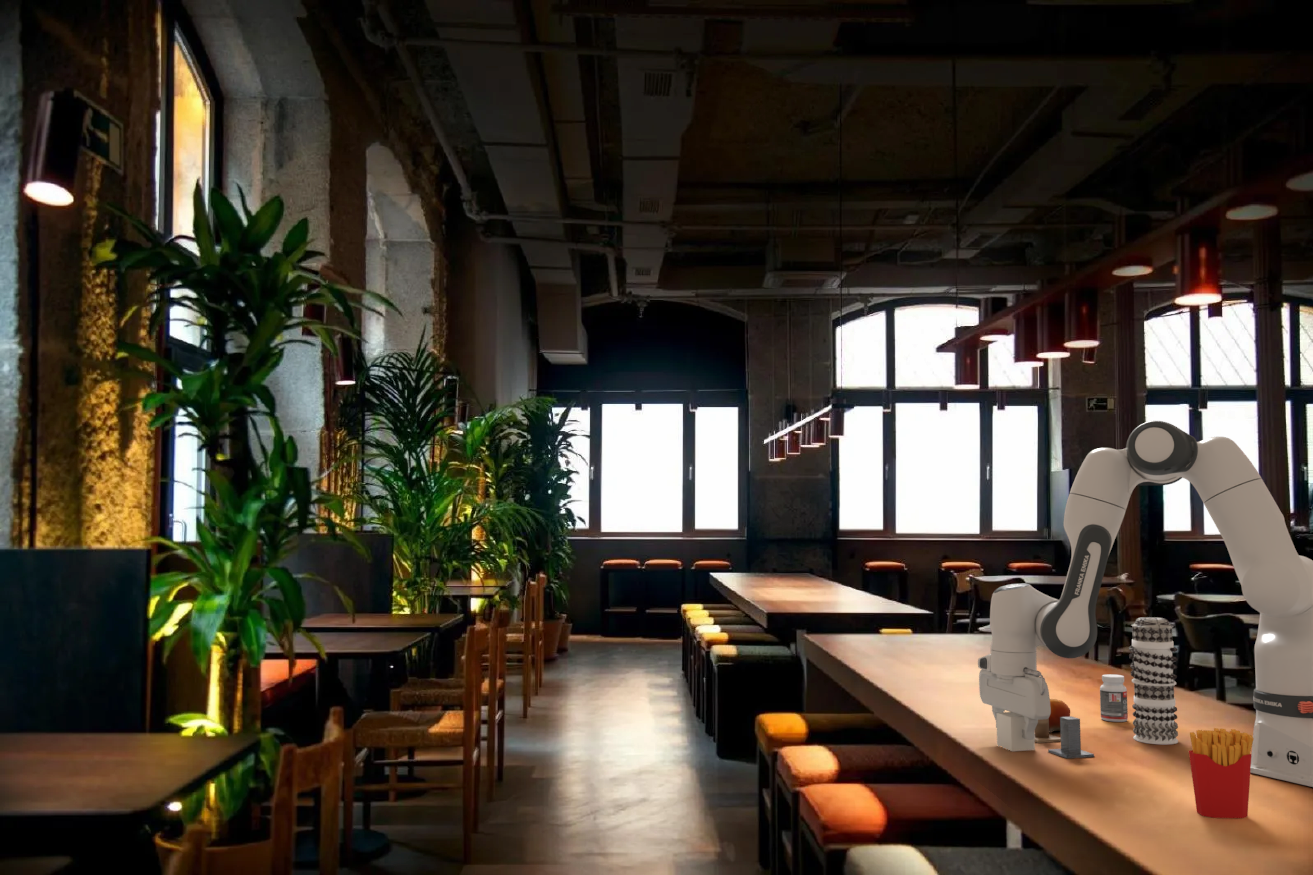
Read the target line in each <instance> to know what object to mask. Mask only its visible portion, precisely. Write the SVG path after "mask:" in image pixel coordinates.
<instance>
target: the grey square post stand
mask: <svg viewBox="0 0 1313 875" xmlns="http://www.w3.org/2000/svg"><path fill="white" fill-rule="evenodd" d="M1060 730H1061V731H1060V738H1061V741H1060V748H1052V749H1051V748H1050V749H1049V748H1048V749H1047V751H1048V752H1047V753H1050V754H1053V755H1055V756H1058V757H1061V758H1064V759H1066V760H1067V759H1079V758H1081V759H1082V758H1093V757H1095V754H1094V753H1092V752H1089V751H1087V750H1082V749H1081V748H1082V747H1081V746H1082V744H1081V742H1082V741H1081V739H1082V738H1081V718H1078V717H1076V716H1071V715H1070V717H1060Z"/></svg>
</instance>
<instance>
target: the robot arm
mask: <svg viewBox="0 0 1313 875" xmlns="http://www.w3.org/2000/svg"><path fill="white" fill-rule="evenodd" d="M1182 479H1185V480H1186V481H1188V482H1189V483H1191V485H1192V486H1193V487H1194V489H1195V491H1196V492H1197V493H1198V496H1199V497H1200V499H1201V501H1202V503H1203V504H1204V506H1205V509H1206V510H1207V512H1208V514H1209V515H1210V518H1211V520H1212V521H1213V523H1214V524H1215V527H1216V528H1217V530H1218V532H1219V534H1220V536H1221V538H1222V540H1223V542H1224V544H1225V547H1226V548H1227V551H1228V552H1227V553H1228V554H1229V557H1230V561H1231V562H1232V566H1233V569H1234V571H1235V574H1236V576H1237V578H1238V581H1239V583H1240V585H1241V592H1242V596H1243V598H1244V600H1245V601H1246V603H1247V604H1248V605H1249V606H1250V608H1252V609H1254V610H1255V611H1257V612H1258V613H1259V621H1258V628H1257V636H1256V640H1255V644H1254V668H1255V669H1254V670H1255V688H1254V689H1253V696H1252V700H1253V708H1254V709H1255V712H1256V713H1255V720H1254V724H1253V731H1252V737H1253V738H1254V739H1253V743H1252V747H1251V752H1250V754H1252V755H1251V770H1250V774H1255V775H1260V776H1264V777H1268V778H1272V779H1277V780H1281V781H1286V782H1290V783H1294V784H1298V785H1302V786H1307V787H1312V788H1313V560H1312V559H1311V558H1309V557H1307V556H1304V555H1299V553H1298V552H1297V550H1296V548H1295V545H1294V542H1293V540H1292V537H1291V535H1290V533H1289V529H1288V527H1287V525H1286V521H1285V517H1284V514H1283V513H1282V512H1281V510H1280V508H1279V506H1278V504H1277V502H1276V501H1275V499H1274V497H1273V496H1272V493H1271V492H1270V491H1269V488H1268V487H1267V485H1266V484H1265V482H1264V480H1263V478H1262V476H1261V475H1260V474H1259V472H1258V469H1256V467H1255V466H1254V464H1253V463H1252V461H1251V460H1250V458H1249V457H1248V456H1247V455H1246V454H1245V453H1244V451H1243V450H1242V449H1241V447H1239V445H1238V444H1237V443H1236V442H1235V441H1234V440H1232V439H1231V438H1229V437H1225V436H1211V437H1208V438H1205V439H1202V440H1199V441H1197V439H1196V438H1195V437H1194V436H1192V434H1191V435H1190V434H1189V433H1187V432H1186V431H1183V430H1182V429H1180V428H1179V427H1177V426H1176V425H1174V424H1172V423H1171V422H1170V423H1169V422H1166V421H1162V420H1150V421H1146V422H1144V423H1141V424H1139V425H1137V427H1135V428H1134V429H1133V430H1132V432H1131V433H1130V434H1129V436H1128V438H1127V441H1126V444H1125V448H1123V449H1115V448H1112V447H1099V448H1094V449H1092V450H1091V451H1089V452H1088V453H1087V455H1086V456H1085V458H1084V459H1083V462H1081V465H1080V466H1079V469H1078V471H1077V474H1076V475H1075V478H1074V481H1073V483H1072V486H1071V488H1070V491H1069V494H1068V497H1067V500H1066V504H1065V508H1064V516H1063V529H1064V531H1065V534H1066V535H1067V538H1068V541H1069V545H1070V550H1071V558H1070V563H1069V567H1068V571H1067V574H1066V577H1065V581H1064V585H1063V589H1062V592H1061V595H1060V598H1059V599H1058V598H1055V597H1052V596H1049V595H1048V594H1045V593H1043V592H1041V591H1039V590H1037V589H1036V588H1034V587H1033V586H1032V585H1031V584H1028V583H1026V582H1025V583H1011V584H1006V585H1002V586H999V587H998V588H996V589H995V590H994V591H993V593H992V594H991V599H990V609H989V628H990V632H991V644H990V653H988V654H986V655H984V656H981V657H979V658H978V659H977V666H978V669H980V670H979V674H978V685H979V687H978V690H979V691H978V692H979V698H980V700H981V701H982V703H983V704H986V705H989V706H991V711H992V714H993V716H994V720H995V728H996V729H997V715H996V713H1002V712H1012V713H1016V714H1019V715H1022V716H1024V721H1025V722H1026V725H1025V729H1022V737H1023V738H1024V739H1027V740H1033V739H1034V733H1035V728H1036V726H1037V724H1038V720H1042V719H1048V718H1049V716H1050V714H1051V707H1050V699H1051V698H1050V689H1049V686H1048V683H1047V682H1046V679H1045V677H1044V676H1043V675H1042V672H1041V671H1040V670H1037V665H1038V664H1037V661H1038V660H1037V647H1038V646H1045V647H1047V649H1048V650H1049V651H1050V652H1052V653H1053V654H1054V655H1055V656H1057V657H1059V658H1064V659H1077V658H1080V657H1082V656H1084V655H1086V654H1087V653H1089V652H1090V651H1091V649H1092V648H1093V647H1094V645H1095V644H1096V642H1097V639H1098V638H1097V637H1098V625H1097V617H1096V608H1097V601H1098V598H1099V594H1100V590H1101V586H1102V582H1103V578H1104V575H1105V571H1106V567H1107V563H1108V558H1109V556H1110V553H1111V550H1112V548H1113V545H1114V543H1115V539H1116V538H1117V536H1118V533H1119V530H1120V528H1121V525H1122V523H1123V521H1124V518H1125V515H1126V511H1127V508H1128V505H1129V501H1130V498H1131V495H1132V494H1133V491H1134V489H1135V488H1136V486H1168V485H1171V484H1175V483H1176V482H1178V481H1180V480H1182Z"/></svg>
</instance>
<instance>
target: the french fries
mask: <svg viewBox="0 0 1313 875" xmlns="http://www.w3.org/2000/svg"><path fill="white" fill-rule="evenodd" d="M1195 732H1196V734H1195ZM1195 732H1194V731H1192V732H1189V736H1190V743H1191V747H1192V748H1191V750H1188V755H1189V757H1188V758H1189V764H1190V770H1191V778H1192V785H1193V786H1192V787H1193V792H1194V794H1193V795H1194V801H1195V807H1196V813H1197V814H1199V815H1200V816H1202V817H1208V818H1211V819H1212V818H1213V819H1214V818H1215V819H1245V818H1247V817H1248V814H1249V802H1250V801H1249V799H1250V798H1249V797H1250V782H1251V773H1250V770H1251V755H1252V754H1251V752H1252V743H1253V739H1254V738H1253V734H1249V733H1248V732H1241V731H1240V730H1236V729H1235V728H1231V729H1230V730H1229V731H1227V729H1226V728H1217V727H1214V728H1213V730H1206V729H1205V730H1203V729H1197V730H1196V731H1195Z"/></svg>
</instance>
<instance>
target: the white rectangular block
mask: <svg viewBox="0 0 1313 875" xmlns="http://www.w3.org/2000/svg"><path fill="white" fill-rule="evenodd" d="M996 715H997V728H996V745H998V746H997V747H999V746H1002V747H1003V748H1002V749H1004V748H1006V749H1005V750H1007V749H1008V750H1007V751H1009V750H1010V752H1022V751H1035V750H1036V742H1035V732H1034V739H1033V740H1027V739H1024V738H1023V737H1022V729H1025V725H1026V722H1025V721H1024V716H1022V715H1019V714H1016V713H1012V712H1009V711H1005V712H1002V713H996Z"/></svg>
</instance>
